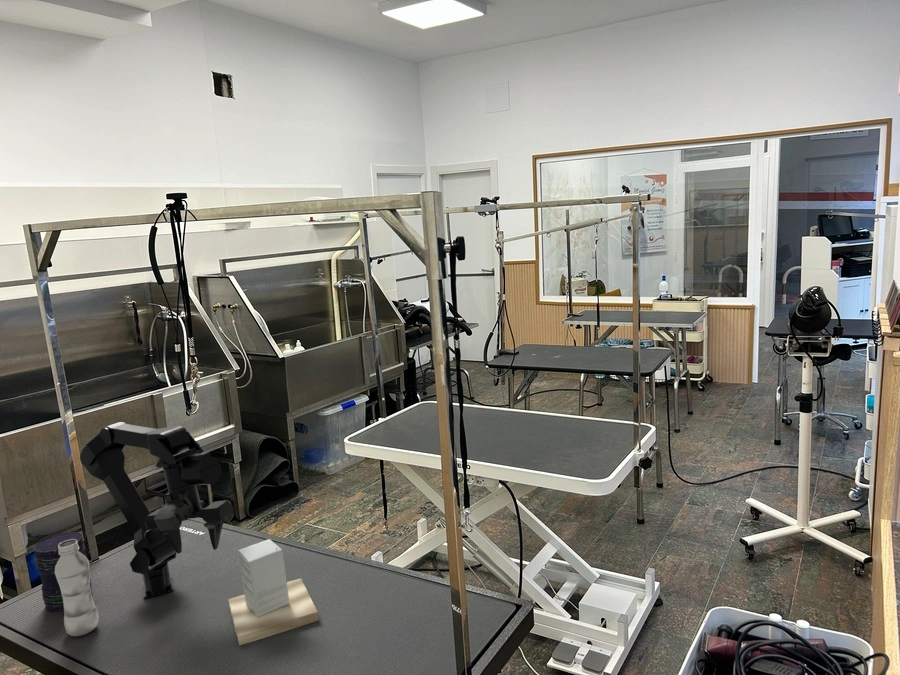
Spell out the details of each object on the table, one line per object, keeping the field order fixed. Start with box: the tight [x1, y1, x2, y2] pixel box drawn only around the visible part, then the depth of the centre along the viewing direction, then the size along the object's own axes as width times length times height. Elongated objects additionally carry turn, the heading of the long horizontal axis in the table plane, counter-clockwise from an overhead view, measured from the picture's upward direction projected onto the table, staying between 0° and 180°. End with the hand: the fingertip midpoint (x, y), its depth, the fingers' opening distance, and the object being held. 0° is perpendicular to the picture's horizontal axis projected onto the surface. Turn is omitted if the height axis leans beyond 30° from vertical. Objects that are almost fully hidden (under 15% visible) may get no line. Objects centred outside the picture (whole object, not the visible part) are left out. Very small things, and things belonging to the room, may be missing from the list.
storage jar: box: [33, 531, 94, 615], centre depth 152 cm, size 10×10×15 cm
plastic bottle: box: [55, 539, 99, 637], centre depth 139 cm, size 6×7×20 cm
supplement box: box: [237, 538, 290, 617], centre depth 140 cm, size 7×7×13 cm
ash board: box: [227, 578, 319, 646], centre depth 141 cm, size 16×16×2 cm
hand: (197, 550), depth 147 cm, fingers open, 9 cm apart
